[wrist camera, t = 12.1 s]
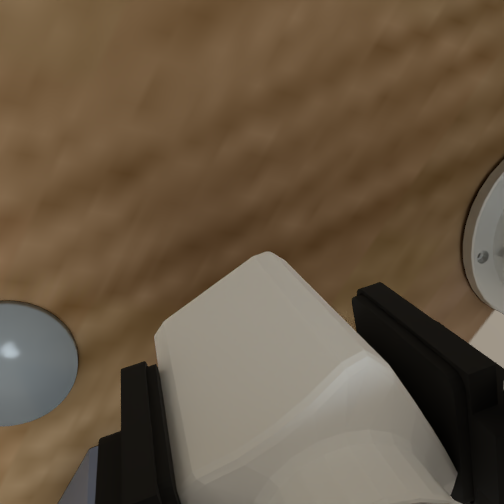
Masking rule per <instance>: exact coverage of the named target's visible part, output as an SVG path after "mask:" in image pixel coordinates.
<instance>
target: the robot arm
mask: <svg viewBox="0 0 504 504" xmlns="http://www.w3.org/2000/svg"><path fill="white" fill-rule="evenodd" d="M463 262H464V267H465V272H466V276H467V279H468V281H469V283H470V285H471V287H472V289H473V291H474V292H475V293H476V295H477V296H478V297H479V298H480V300H482V301H483V302H484V303H486V304H487V305H488V306H489V307H491V308H493V309H495V310H497V311H499V312H501V313H502V314H504V160H503V161H502V162H501V163H500V164H499V165H498V166H497V167H496V168H495V170H494V171H493V172H492V173H491V174H490V176H489V177H488V178H487V180H486V181H485V183H484V184H483V186H482V187H481V189H480V190H479V193H478V195H477V197H476V199H475V201H474V203H473V205H472V207H471V210H470V213H469V216H468V219H467V223H466V226H465V232H464V239H463ZM352 306H353V312H354V318H355V324H356V330H357V333H358V334H359V335H360V336H361V337H362V338H363V339H364V340H365V341H366V342H367V343H368V344H369V345H370V346H371V347H372V348H373V349H374V350H375V351H376V352H377V353H378V354H379V355H380V356H381V357H382V358H383V359H384V360H385V361H386V362H387V363H388V364H389V365H390V367H391V368H392V370H393V371H394V372H395V374H396V375H397V377H398V378H399V380H400V381H401V383H402V384H403V385H404V387H405V388H406V390H407V391H408V393H409V394H410V395H411V397H412V398H413V400H414V401H415V403H416V404H417V406H418V407H419V409H420V410H421V412H422V413H423V415H424V416H425V418H426V419H427V421H428V422H429V424H430V425H431V427H432V428H433V430H434V432H435V433H436V435H437V437H438V438H439V440H440V442H441V443H442V445H443V447H444V448H445V450H446V452H447V454H448V456H449V457H450V459H451V461H452V463H453V465H454V467H455V469H456V471H457V473H458V474H457V477H456V481H455V484H454V487H453V490H452V493H451V495H450V496H451V497H452V498H453V499H454V500H455V501H457V502H459V503H462V504H504V369H503V368H502V367H501V366H499V365H498V364H496V363H495V362H493V361H492V360H491V359H489V358H488V357H487V356H485V355H484V354H482V353H481V352H480V351H478V350H477V349H475V348H474V347H472V346H471V345H470V344H468V343H467V342H466V341H464V340H463V339H461V338H460V337H458V336H457V335H456V334H454V333H453V332H451V331H450V330H449V329H447V328H446V327H444V326H443V325H442V324H440V323H439V322H437V321H435V320H433V319H432V318H430V317H429V316H428V315H426V314H425V313H423V312H422V311H421V310H419V309H418V308H416V307H415V306H414V305H412V304H411V303H409V302H408V301H407V300H405V299H404V298H402V297H401V296H400V295H398V294H397V293H395V292H394V291H393V290H391V289H390V288H388V287H387V286H385V285H384V284H383V283H381V282H379V283H376V284H373V285H370V286H367V287H364V288H361V289H358V291H357V296H355V297H353V298H352ZM95 504H181V503H180V500H179V496H178V493H177V488H176V481H175V475H174V468H173V461H172V454H171V447H170V440H169V434H168V427H167V420H166V413H165V406H164V399H163V392H162V386H161V379H160V373H159V370H158V367H157V365H156V364H155V365H152V366H149V367H148V366H147V363H146V362H145V361H144V362H141V363H138V364H135V365H132V366H129V367H126V368H123V369H121V431H120V432H117V433H114V434H111V435H108V436H106V437H103V438H101V439H100V440H99V444H98V458H97V475H96V492H95Z"/></svg>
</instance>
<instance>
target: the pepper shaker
mask: <svg viewBox="0 0 504 504" xmlns="http://www.w3.org/2000/svg"><path fill="white" fill-rule="evenodd" d="M154 340H155V347H156V354H157V361H158V368H159V373H160V379H161V386H162V392H163V399H164V406H165V413H166V420H167V427H168V434H169V440H170V447H171V454H172V461H173V468H174V475H175V481H176V488H177V493H178V496H179V500H180V503H181V504H462V503H459V502H457V501H455V500H453V499H452V498H451V497H450V495H451V493H452V490H453V487H454V484H455V481H456V477H457V474H458V473H457V471H456V469H455V467H454V465H453V463H452V461H451V459H450V457H449V456H448V454H447V452H446V450H445V448H444V447H443V445H442V443H441V442H440V440H439V438H438V437H437V435H436V433H435V432H434V430H433V428H432V427H431V425H430V424H429V422H428V421H427V419H426V418H425V416H424V415H423V413H422V412H421V410H420V409H419V407H418V406H417V404H416V403H415V401H414V400H413V398H412V397H411V395H410V394H409V393H408V391H407V390H406V388H405V387H404V385H403V384H402V383H401V381H400V380H399V378H398V377H397V375H396V374H395V372H394V371H393V370H392V368H391V367H390V365H389V364H388V363H387V362H386V361H385V360H384V359H383V358H382V357H381V356H380V355H379V354H378V353H377V352H376V351H375V350H374V349H373V348H372V347H371V346H370V345H369V344H368V343H367V342H366V341H365V340H364V339H363V338H362V337H361V336H360V335H359V334H358V333H357V332H356V331H355V330H354V329H353V328H352V327H351V326H350V325H349V324H348V323H347V322H346V321H345V320H344V319H343V318H342V317H341V316H340V315H339V314H338V313H337V312H336V311H335V310H334V309H333V308H332V307H331V306H330V305H329V304H328V303H327V302H326V301H325V300H324V299H323V298H322V297H321V296H320V295H319V294H318V293H317V292H316V291H315V290H314V289H313V288H312V287H311V286H310V285H309V284H308V283H307V282H306V281H305V280H304V279H303V278H302V277H301V276H300V275H299V274H298V273H297V272H296V271H295V270H294V269H293V268H292V267H291V266H290V265H289V264H288V263H287V262H286V261H285V260H284V259H282V258H280V257H279V256H277V255H275V254H274V253H272V252H263V253H260V254H258V255H255V256H252V257H251V258H250V259H248V260H247V261H246V262H244V263H243V264H241V265H240V266H239V267H237V268H236V269H235V270H233V271H232V272H230V273H229V274H228V275H226V276H225V277H224V278H222V279H221V280H219V281H218V282H217V283H215V284H214V285H213V286H211V287H210V288H209V289H207V290H206V291H204V292H203V293H202V294H200V295H199V296H198V297H196V298H195V299H193V300H192V301H191V302H189V303H188V304H187V305H185V306H184V307H183V308H181V309H180V310H178V311H177V312H176V313H174V314H173V315H172V316H170V317H169V318H168V319H166V320H165V321H164V322H163V323H162V325H161V326H160V328H159V329H158V331H157V332H156V334H155V336H154Z"/></svg>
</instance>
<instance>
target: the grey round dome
mask: <svg viewBox="0 0 504 504" xmlns="http://www.w3.org/2000/svg"><path fill="white" fill-rule="evenodd" d="M77 368H78V351H77V346H76V343H75V340H74V338H73V336H72V334H71V332H70V331H69V330H68V328H67V327H66V326H65V325H64V324H63V322H62V321H61V320H59V319H58V318H57V317H56V316H54V315H53V314H51V313H50V312H48V311H47V310H44V309H42V308H40V307H38V306H35V305H32V304H29V303H24V302H18V301H0V426H12V425H18V424H23V423H26V422H30V421H33V420H35V419H37V418H40V417H42V416H44V415H45V414H47V413H49V412H50V411H52V410H53V409H54V408H56V407H57V406H58V405H59V404H60V403H61V402H62V401H63V400H64V399H65V397H66V396H67V395H68V393H69V392H70V390H71V388H72V386H73V384H74V382H75V378H76V375H77Z"/></svg>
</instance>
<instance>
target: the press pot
mask: <svg viewBox="0 0 504 504" xmlns="http://www.w3.org/2000/svg"><path fill="white" fill-rule="evenodd" d="M97 458H98V446H96V447H94V448H91V449H89V451H88V452H87V454H86V456H85V458H84V459H83V461H82V463H81V464H80V466H79V468H78V470H77V471H76V473H75V475H74V477H73V478H72V480H71V482H70V483H69V485H68V487H67V489H66V490H65V492H64V494H63V496H62V497H61V499H60V501H59V502H58V504H95V492H96V475H97Z"/></svg>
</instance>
